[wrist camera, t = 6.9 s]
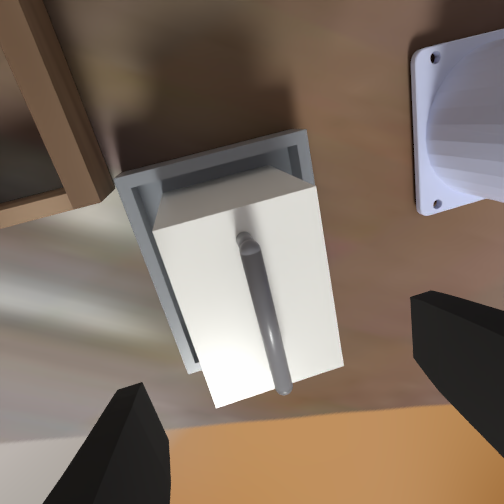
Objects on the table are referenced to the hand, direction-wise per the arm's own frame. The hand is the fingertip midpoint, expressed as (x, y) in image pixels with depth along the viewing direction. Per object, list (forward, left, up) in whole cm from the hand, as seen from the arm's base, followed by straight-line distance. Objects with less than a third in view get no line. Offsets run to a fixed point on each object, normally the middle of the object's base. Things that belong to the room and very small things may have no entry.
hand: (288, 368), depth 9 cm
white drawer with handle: (0, 0, -9) cm, 9 cm away
